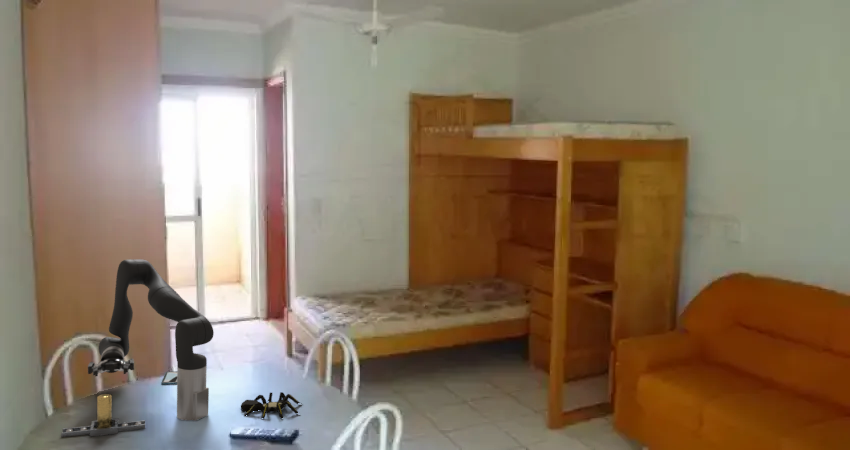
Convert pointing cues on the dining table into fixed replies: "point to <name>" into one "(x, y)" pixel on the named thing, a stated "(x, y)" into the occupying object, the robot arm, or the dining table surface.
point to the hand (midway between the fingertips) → (110, 372)
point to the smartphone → (170, 378)
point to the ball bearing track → (103, 431)
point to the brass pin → (104, 411)
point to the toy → (268, 404)
